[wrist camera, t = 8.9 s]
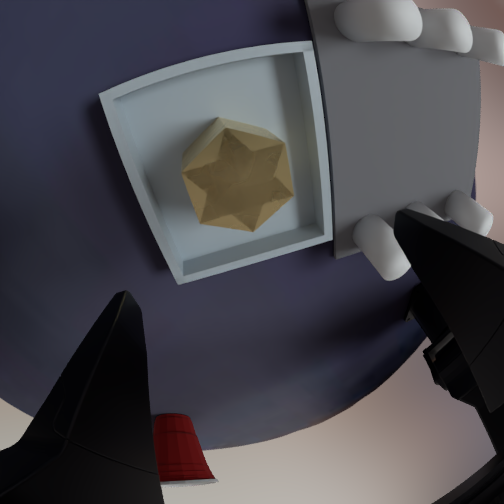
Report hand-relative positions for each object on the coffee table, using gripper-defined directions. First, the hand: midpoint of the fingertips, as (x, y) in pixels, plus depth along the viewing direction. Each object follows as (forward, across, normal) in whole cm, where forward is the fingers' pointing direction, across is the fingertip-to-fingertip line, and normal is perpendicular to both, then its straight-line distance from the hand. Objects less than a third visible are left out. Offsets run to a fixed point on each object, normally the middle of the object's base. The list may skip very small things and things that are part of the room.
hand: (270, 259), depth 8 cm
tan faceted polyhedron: (+10, 0, 0) cm, 10 cm away
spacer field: (+10, -15, 0) cm, 18 cm away
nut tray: (+10, 0, 0) cm, 10 cm away
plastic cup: (+10, +18, +35) cm, 41 cm away
